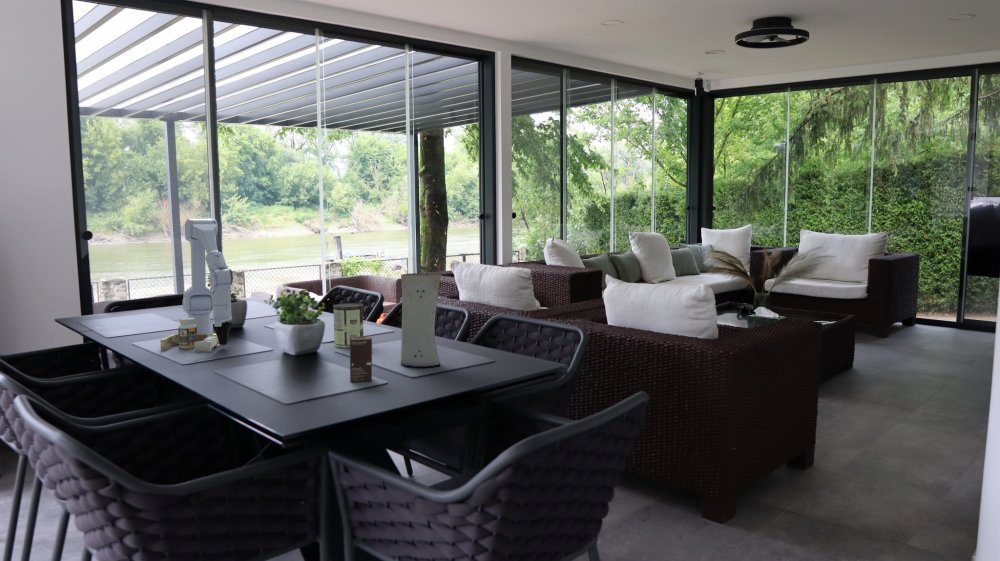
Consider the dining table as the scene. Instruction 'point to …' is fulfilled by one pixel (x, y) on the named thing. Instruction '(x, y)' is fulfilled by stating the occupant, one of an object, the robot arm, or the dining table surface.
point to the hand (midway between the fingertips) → (223, 344)
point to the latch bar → (212, 340)
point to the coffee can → (347, 323)
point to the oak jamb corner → (177, 340)
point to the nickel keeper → (202, 346)
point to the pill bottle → (187, 333)
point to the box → (360, 359)
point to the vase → (419, 319)
